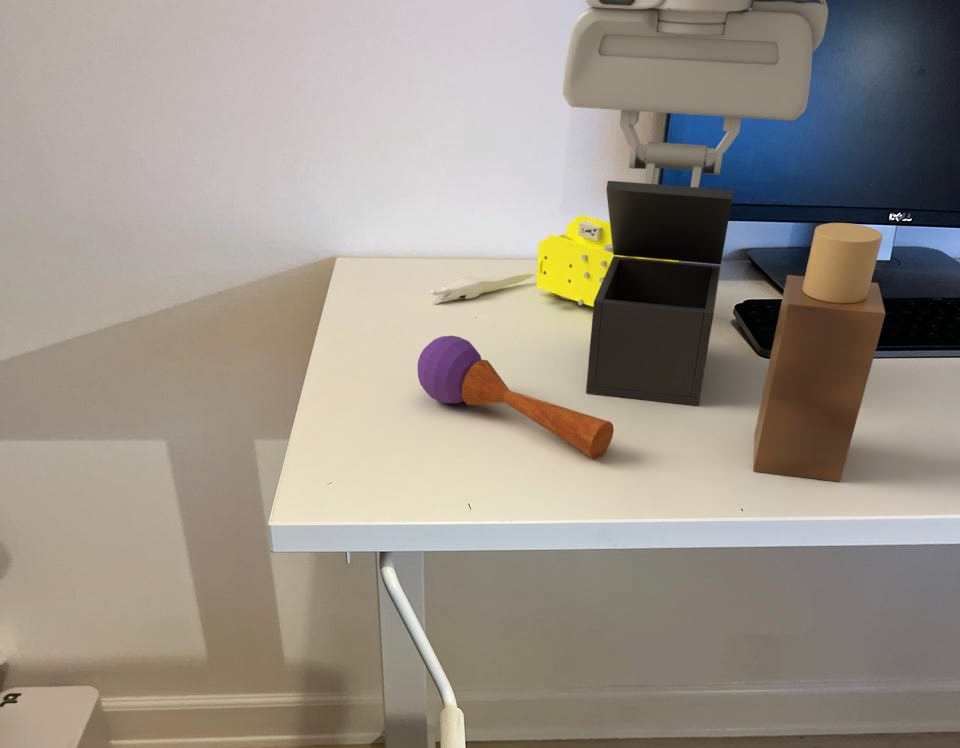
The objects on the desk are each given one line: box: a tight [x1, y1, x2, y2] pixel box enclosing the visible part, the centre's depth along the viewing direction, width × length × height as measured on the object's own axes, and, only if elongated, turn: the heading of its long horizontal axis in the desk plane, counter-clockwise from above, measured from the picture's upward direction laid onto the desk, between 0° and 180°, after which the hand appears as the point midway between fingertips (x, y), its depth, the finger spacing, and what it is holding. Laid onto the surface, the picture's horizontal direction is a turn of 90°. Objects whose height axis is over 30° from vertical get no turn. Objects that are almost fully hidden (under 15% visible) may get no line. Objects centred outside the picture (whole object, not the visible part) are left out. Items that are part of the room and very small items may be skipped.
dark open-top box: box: [585, 256, 722, 407], centre depth 96 cm, size 14×11×9 cm
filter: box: [802, 222, 883, 303], centre depth 75 cm, size 5×5×4 cm
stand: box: [752, 274, 886, 483], centre depth 80 cm, size 7×7×14 cm
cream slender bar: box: [429, 272, 536, 305], centre depth 115 cm, size 15×3×2 cm, turn 125°
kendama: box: [417, 335, 614, 460], centre depth 87 cm, size 6×6×20 cm
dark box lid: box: [605, 141, 734, 265], centre depth 91 cm, size 14×11×5 cm
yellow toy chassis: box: [535, 214, 681, 307], centre depth 110 cm, size 16×6×8 cm, turn 44°
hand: (673, 170), depth 87 cm, fingers closed on dark box lid, 5 cm apart
